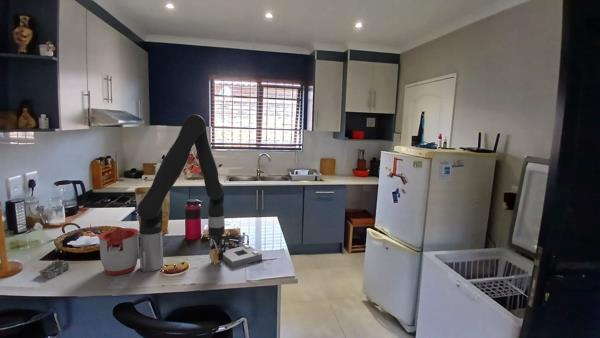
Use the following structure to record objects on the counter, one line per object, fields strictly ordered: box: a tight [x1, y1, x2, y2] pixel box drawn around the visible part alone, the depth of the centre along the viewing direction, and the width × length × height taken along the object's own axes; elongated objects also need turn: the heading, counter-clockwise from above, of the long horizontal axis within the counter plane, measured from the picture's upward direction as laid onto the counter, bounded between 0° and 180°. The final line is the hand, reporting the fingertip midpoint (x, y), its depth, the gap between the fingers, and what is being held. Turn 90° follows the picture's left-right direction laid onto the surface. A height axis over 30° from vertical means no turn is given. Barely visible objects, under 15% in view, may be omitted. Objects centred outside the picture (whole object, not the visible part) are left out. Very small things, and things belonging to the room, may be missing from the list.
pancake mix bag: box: [134, 186, 171, 235], centre depth 189 cm, size 7×19×28 cm, turn 104°
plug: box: [209, 248, 222, 266], centre depth 153 cm, size 5×4×7 cm
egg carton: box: [38, 258, 71, 279], centre depth 140 cm, size 11×8×4 cm
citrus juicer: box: [98, 226, 140, 276], centre depth 142 cm, size 16×17×20 cm
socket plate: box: [222, 244, 263, 269], centre depth 159 cm, size 16×14×4 cm
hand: (217, 257), depth 154 cm, fingers open, 8 cm apart
